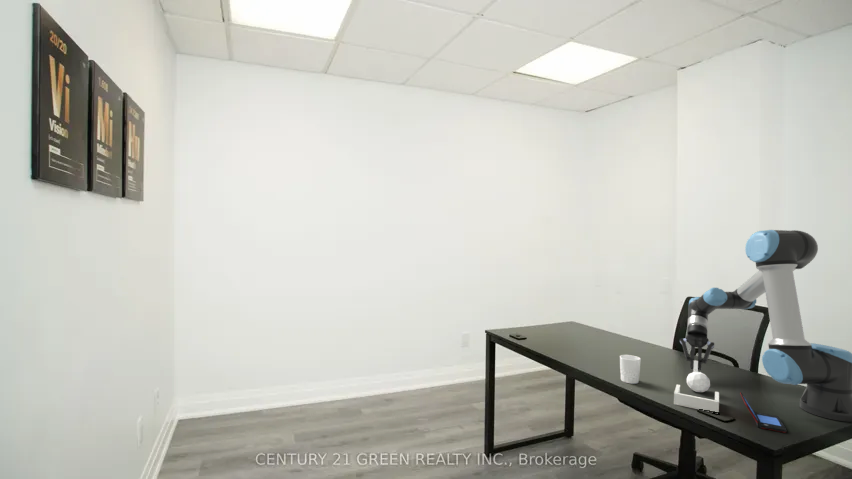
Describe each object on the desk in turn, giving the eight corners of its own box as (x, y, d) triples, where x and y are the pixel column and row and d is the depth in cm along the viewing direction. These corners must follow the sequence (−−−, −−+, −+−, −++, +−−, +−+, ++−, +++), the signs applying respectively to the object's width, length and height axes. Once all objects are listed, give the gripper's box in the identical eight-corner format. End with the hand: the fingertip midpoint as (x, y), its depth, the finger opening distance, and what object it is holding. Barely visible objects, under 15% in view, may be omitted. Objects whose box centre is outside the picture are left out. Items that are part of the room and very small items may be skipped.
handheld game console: (787, 434, 131) (788, 410, 131) (744, 426, 136) (745, 403, 136) (778, 419, 142) (779, 397, 141) (739, 412, 147) (739, 390, 147)
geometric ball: (703, 398, 165) (718, 384, 163) (692, 394, 161) (708, 380, 159) (688, 383, 171) (703, 369, 169) (678, 379, 168) (693, 365, 165)
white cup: (642, 385, 171) (643, 360, 171) (622, 383, 173) (622, 359, 173) (636, 378, 179) (637, 355, 179) (617, 377, 181) (617, 354, 180)
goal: (676, 394, 162) (676, 384, 162) (718, 402, 154) (718, 392, 154) (673, 404, 152) (674, 393, 152) (718, 413, 145) (718, 402, 145)
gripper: (714, 335, 185) (714, 383, 172) (680, 331, 193) (677, 377, 179) (715, 325, 181) (714, 374, 167) (680, 321, 188) (676, 368, 175)
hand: (695, 375), depth 173 cm, fingers closed
